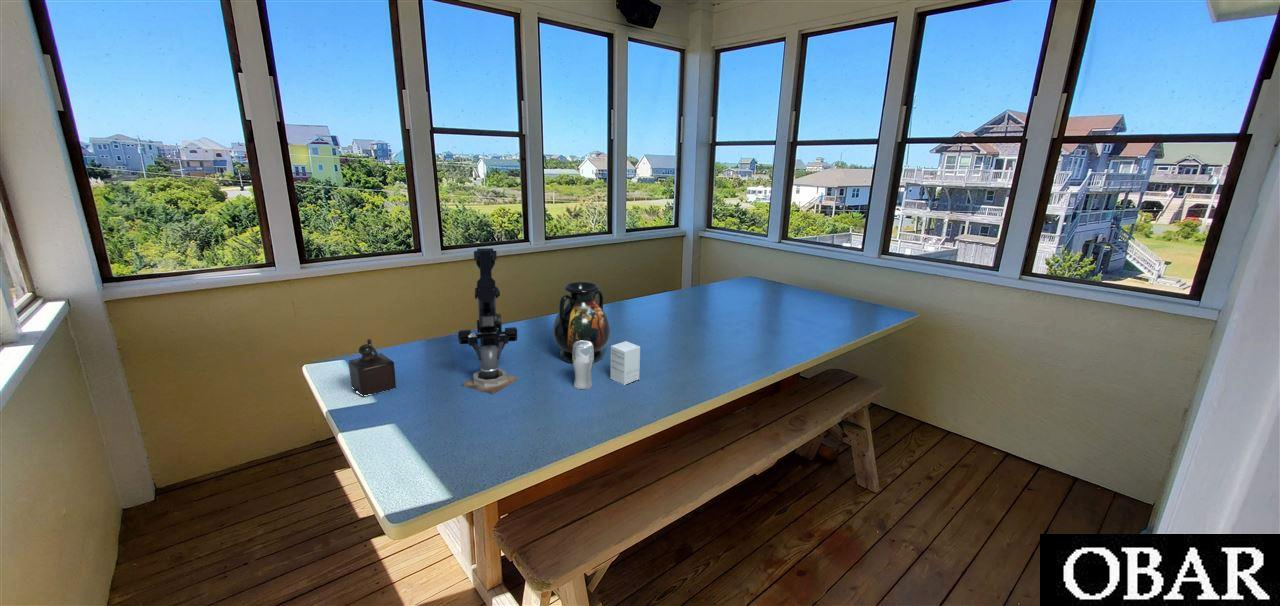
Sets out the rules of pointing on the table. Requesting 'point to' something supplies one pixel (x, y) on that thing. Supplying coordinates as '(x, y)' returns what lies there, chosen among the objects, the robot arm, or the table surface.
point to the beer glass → (583, 363)
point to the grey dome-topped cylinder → (489, 362)
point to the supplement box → (625, 362)
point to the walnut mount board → (490, 389)
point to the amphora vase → (581, 320)
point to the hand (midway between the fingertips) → (489, 359)
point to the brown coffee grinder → (371, 371)
